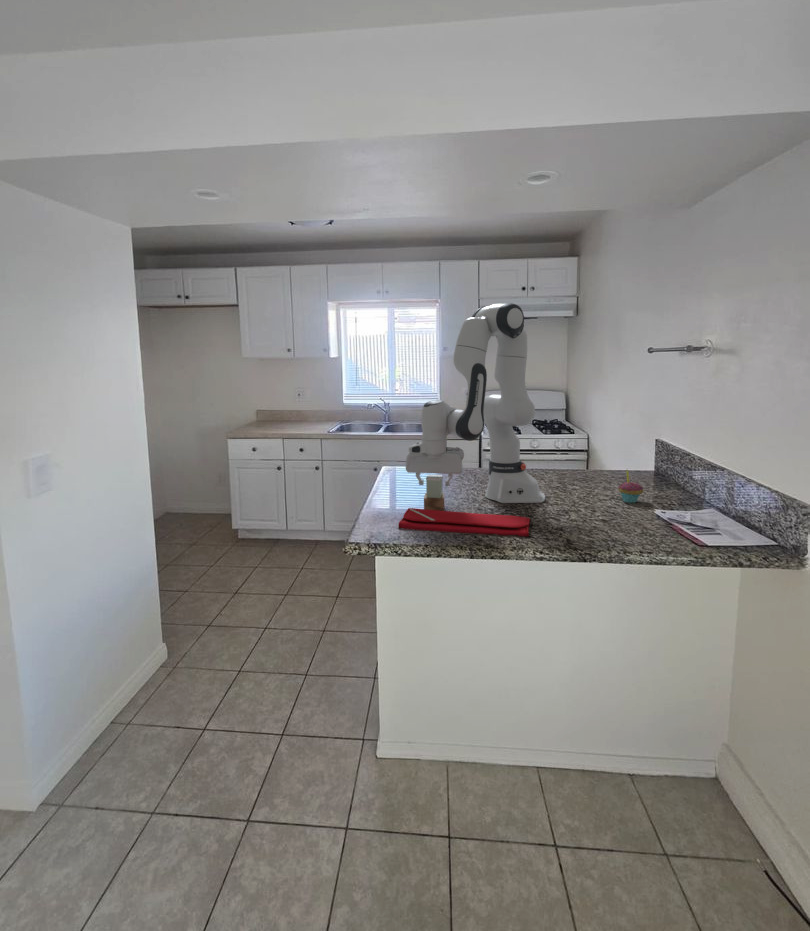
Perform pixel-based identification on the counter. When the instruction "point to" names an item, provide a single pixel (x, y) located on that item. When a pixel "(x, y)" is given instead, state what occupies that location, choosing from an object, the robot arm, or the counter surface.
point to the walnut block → (434, 503)
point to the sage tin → (434, 486)
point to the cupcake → (630, 491)
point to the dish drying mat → (464, 522)
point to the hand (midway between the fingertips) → (434, 485)
